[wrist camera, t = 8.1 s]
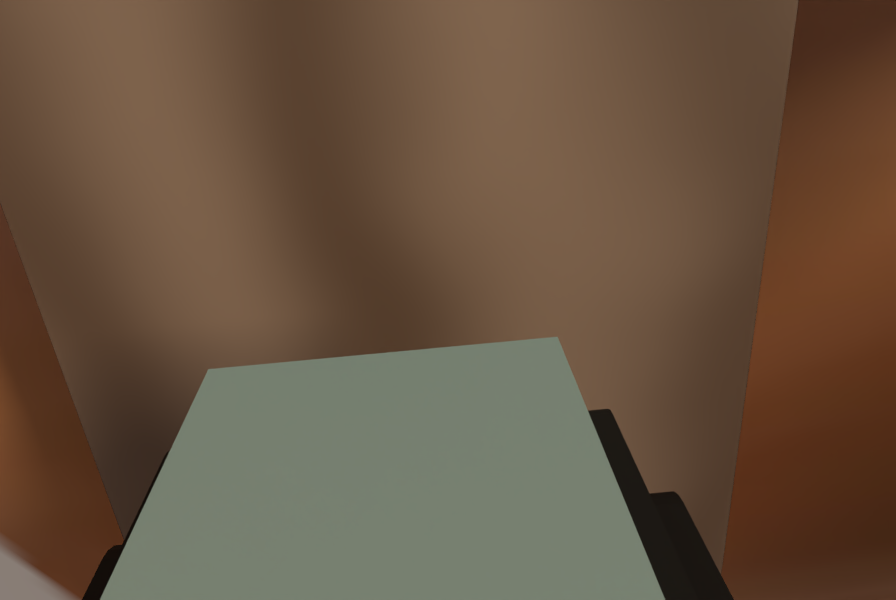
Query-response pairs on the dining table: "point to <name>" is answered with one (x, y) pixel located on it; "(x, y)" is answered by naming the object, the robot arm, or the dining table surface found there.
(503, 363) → the teal block
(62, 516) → the dining table surface
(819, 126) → the dining table surface
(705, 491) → the walnut riser
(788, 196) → the dining table surface
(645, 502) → the robot arm
